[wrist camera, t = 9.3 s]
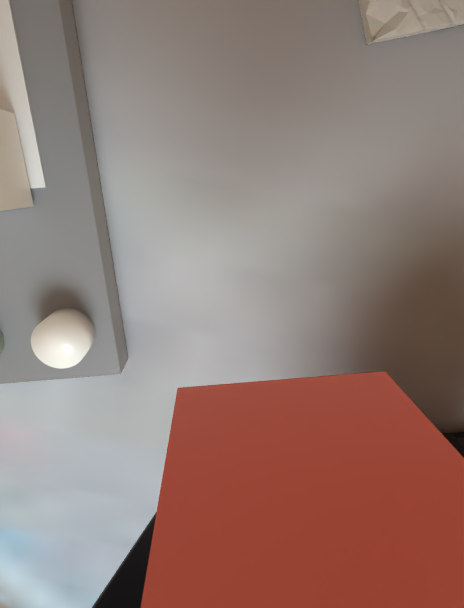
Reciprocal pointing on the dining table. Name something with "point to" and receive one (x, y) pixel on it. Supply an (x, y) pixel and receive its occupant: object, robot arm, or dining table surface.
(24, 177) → the block
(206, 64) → the dining table surface
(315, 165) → the dining table surface
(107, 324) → the breaker panel
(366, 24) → the packaged product
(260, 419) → the block
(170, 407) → the dining table surface
